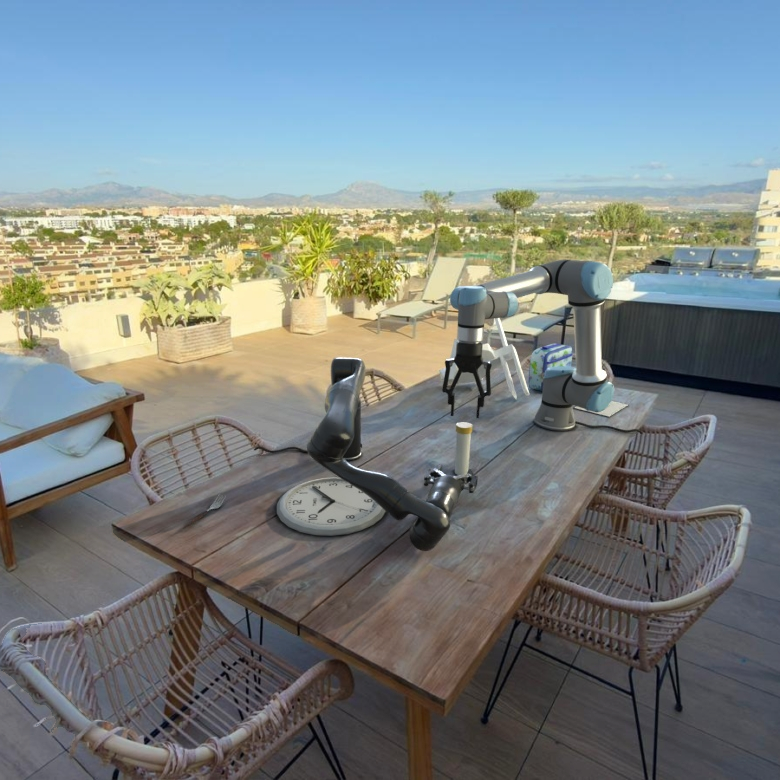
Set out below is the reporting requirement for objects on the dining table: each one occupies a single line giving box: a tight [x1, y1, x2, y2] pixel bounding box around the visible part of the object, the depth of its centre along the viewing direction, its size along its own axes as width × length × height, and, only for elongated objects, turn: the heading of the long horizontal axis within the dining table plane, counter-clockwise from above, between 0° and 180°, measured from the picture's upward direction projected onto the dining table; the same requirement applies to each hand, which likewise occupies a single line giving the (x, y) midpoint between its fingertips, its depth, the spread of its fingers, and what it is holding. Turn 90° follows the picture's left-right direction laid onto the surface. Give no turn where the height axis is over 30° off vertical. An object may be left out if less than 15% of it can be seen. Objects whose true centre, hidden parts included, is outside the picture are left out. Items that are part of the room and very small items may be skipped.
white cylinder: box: [454, 432, 472, 476], centre depth 161 cm, size 4×4×16 cm
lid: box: [455, 421, 474, 434], centre depth 159 cm, size 5×5×2 cm
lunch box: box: [528, 343, 574, 392], centre depth 249 cm, size 26×11×21 cm, turn 134°
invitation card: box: [573, 400, 629, 418], centre depth 226 cm, size 21×1×15 cm
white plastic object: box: [438, 318, 531, 400], centre depth 245 cm, size 37×45×31 cm
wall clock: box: [276, 476, 387, 537], centre depth 142 cm, size 30×2×30 cm
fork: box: [182, 493, 227, 529], centre depth 136 cm, size 3×16×2 cm, turn 160°
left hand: (455, 469), depth 151 cm, fingers open, 8 cm apart
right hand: (464, 415), depth 158 cm, fingers open, 7 cm apart
